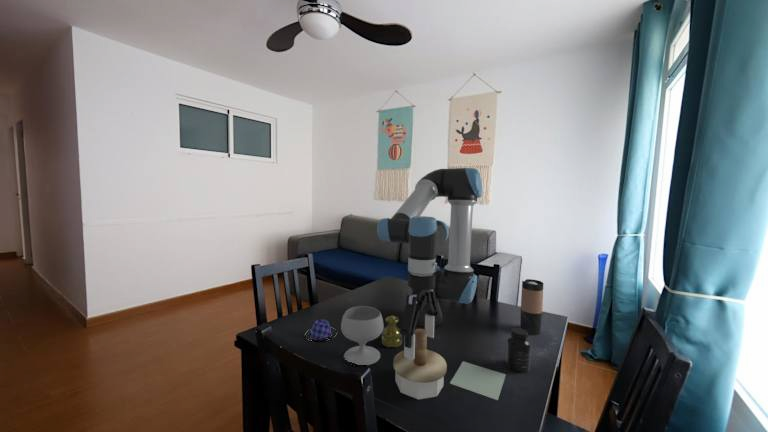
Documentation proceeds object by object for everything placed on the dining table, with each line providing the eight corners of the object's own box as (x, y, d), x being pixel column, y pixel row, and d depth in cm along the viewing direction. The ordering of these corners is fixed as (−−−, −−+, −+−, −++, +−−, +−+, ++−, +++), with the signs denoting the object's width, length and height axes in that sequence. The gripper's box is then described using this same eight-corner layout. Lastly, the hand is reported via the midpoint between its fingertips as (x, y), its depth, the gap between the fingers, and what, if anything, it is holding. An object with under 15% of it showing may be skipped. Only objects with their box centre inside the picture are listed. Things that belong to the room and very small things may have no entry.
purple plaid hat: (343, 333, 115) (343, 320, 114) (320, 346, 105) (320, 332, 104) (321, 325, 121) (321, 313, 121) (298, 337, 111) (297, 323, 111)
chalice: (391, 360, 96) (392, 315, 95) (352, 374, 89) (353, 325, 87) (369, 341, 108) (370, 301, 107) (334, 352, 100) (334, 309, 99)
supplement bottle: (502, 361, 96) (503, 326, 95) (522, 361, 97) (523, 325, 96) (512, 374, 89) (514, 336, 88) (534, 373, 90) (536, 335, 89)
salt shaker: (404, 340, 110) (404, 313, 109) (398, 350, 103) (399, 322, 102) (385, 336, 112) (385, 311, 111) (378, 346, 105) (379, 319, 104)
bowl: (388, 388, 82) (389, 369, 82) (409, 366, 93) (409, 349, 93) (431, 406, 76) (432, 385, 75) (447, 379, 86) (448, 361, 86)
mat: (449, 384, 84) (449, 383, 84) (462, 362, 95) (462, 361, 95) (497, 401, 78) (497, 400, 78) (505, 375, 89) (505, 374, 89)
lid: (383, 370, 81) (383, 335, 81) (407, 346, 94) (408, 316, 93) (434, 389, 74) (435, 351, 73) (453, 361, 86) (454, 328, 86)
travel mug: (543, 336, 114) (546, 285, 112) (522, 334, 115) (524, 284, 114) (537, 327, 121) (540, 279, 120) (517, 325, 123) (519, 278, 121)
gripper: (414, 286, 69) (412, 373, 71) (449, 265, 90) (447, 332, 92) (387, 281, 73) (386, 363, 75) (426, 261, 94) (425, 326, 96)
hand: (419, 346), depth 83 cm, fingers open, 13 cm apart
